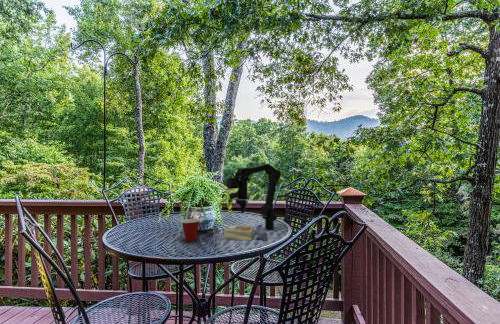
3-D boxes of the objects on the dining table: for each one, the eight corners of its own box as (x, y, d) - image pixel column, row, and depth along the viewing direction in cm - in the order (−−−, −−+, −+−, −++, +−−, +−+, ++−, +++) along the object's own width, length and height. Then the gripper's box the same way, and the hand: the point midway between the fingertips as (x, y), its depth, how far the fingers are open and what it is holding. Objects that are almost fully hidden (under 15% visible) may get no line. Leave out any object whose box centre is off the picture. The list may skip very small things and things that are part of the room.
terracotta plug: (242, 233, 189) (243, 225, 188) (249, 233, 188) (249, 225, 188) (242, 235, 185) (242, 226, 184) (248, 235, 184) (248, 227, 184)
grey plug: (229, 234, 190) (229, 226, 189) (236, 234, 189) (236, 226, 189) (228, 236, 186) (228, 227, 185) (235, 236, 185) (235, 227, 185)
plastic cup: (191, 236, 188) (191, 216, 187) (203, 240, 181) (203, 219, 180) (176, 240, 179) (176, 219, 179) (189, 244, 172) (189, 222, 172)
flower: (251, 230, 178) (264, 221, 182) (247, 232, 185) (260, 223, 190) (260, 244, 176) (273, 234, 180) (255, 246, 184) (268, 236, 188)
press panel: (227, 233, 194) (227, 226, 194) (253, 234, 192) (253, 226, 192) (224, 239, 182) (224, 231, 182) (251, 240, 180) (251, 232, 180)
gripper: (232, 186, 204) (232, 209, 204) (227, 189, 185) (227, 215, 186) (249, 186, 202) (249, 210, 203) (245, 190, 184) (245, 216, 185)
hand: (242, 212), depth 194 cm, fingers closed
